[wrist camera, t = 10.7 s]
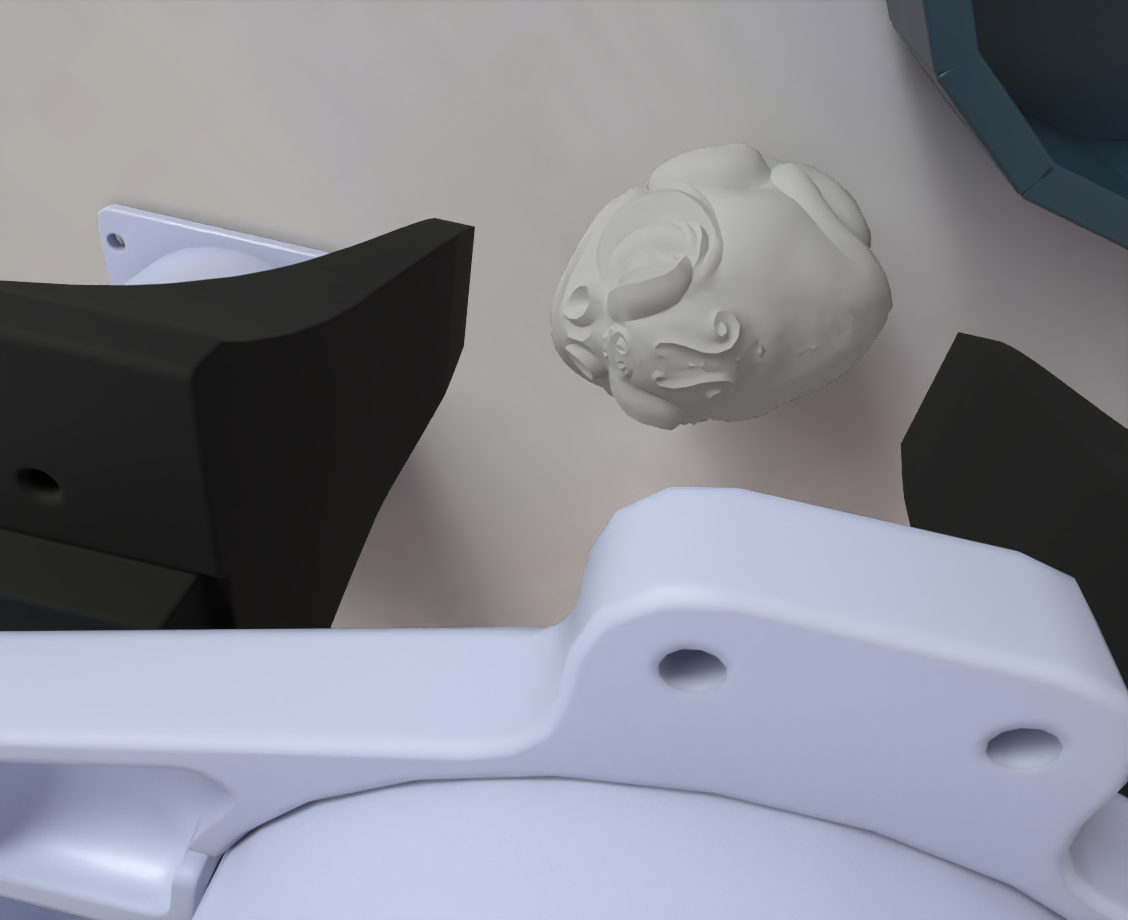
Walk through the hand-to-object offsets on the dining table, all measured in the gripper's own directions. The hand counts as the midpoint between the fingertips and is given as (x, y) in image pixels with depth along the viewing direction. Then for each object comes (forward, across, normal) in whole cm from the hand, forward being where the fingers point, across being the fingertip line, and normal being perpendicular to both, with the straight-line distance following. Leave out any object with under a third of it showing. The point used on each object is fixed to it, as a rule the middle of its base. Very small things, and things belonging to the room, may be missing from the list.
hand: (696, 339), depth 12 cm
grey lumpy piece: (+10, -1, +2) cm, 10 cm away
